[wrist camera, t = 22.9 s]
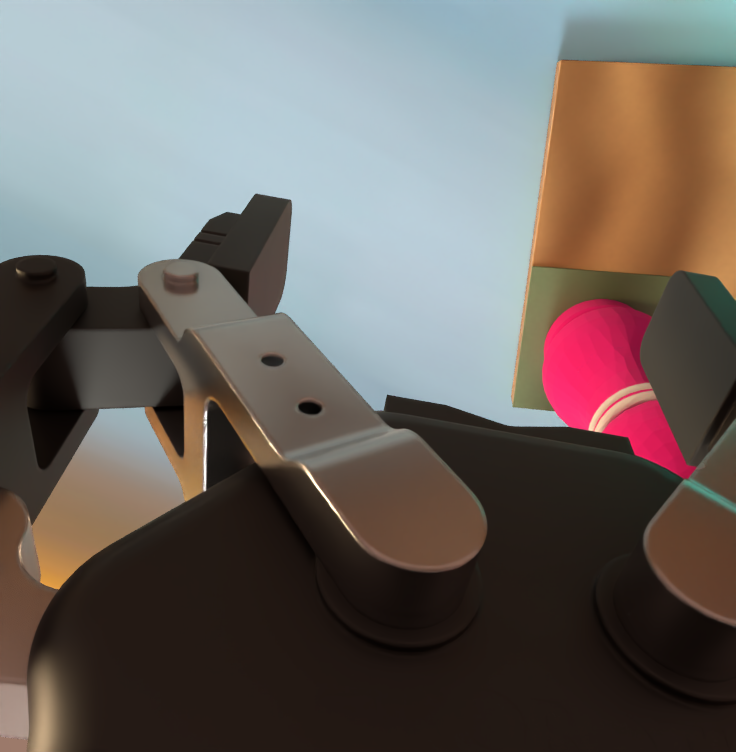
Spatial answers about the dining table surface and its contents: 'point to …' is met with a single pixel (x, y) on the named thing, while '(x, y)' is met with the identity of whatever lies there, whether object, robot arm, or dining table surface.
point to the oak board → (628, 194)
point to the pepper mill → (608, 379)
